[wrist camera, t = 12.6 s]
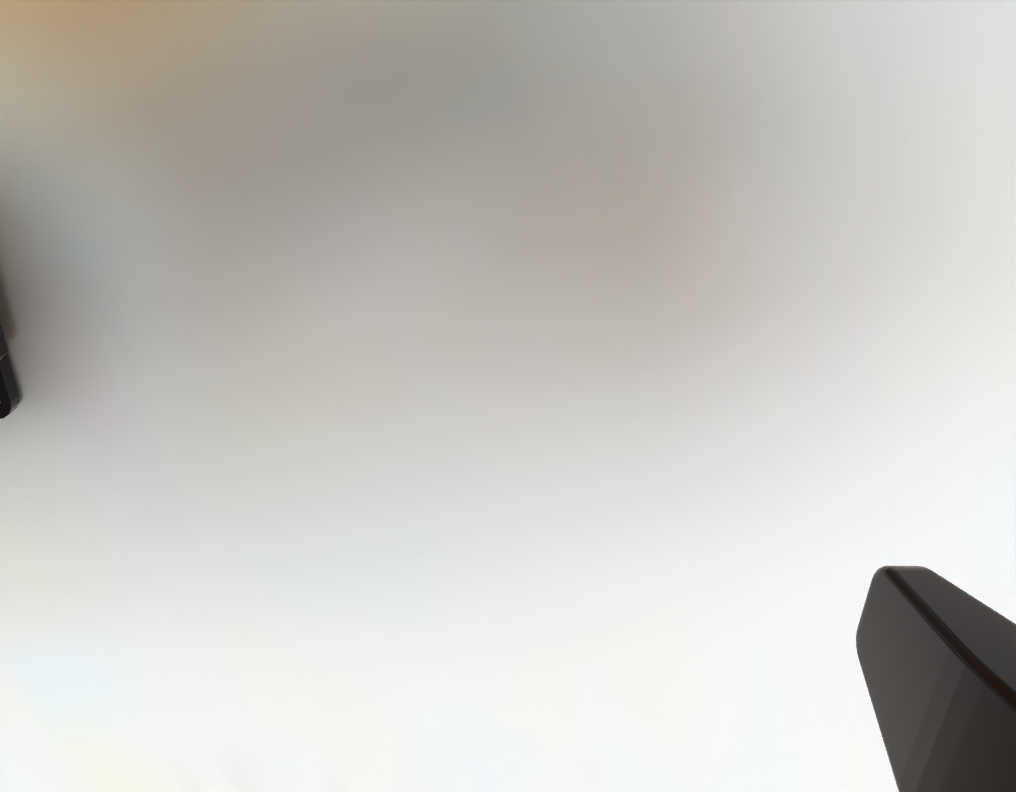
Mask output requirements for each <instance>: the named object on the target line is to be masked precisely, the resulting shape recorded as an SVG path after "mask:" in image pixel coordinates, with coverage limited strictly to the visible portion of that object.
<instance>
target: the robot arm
mask: <svg viewBox="0 0 1016 792" xmlns="http://www.w3.org/2000/svg"><path fill="white" fill-rule="evenodd" d="M6 352H7V347H6V343H5V340H4V337H3V333H2V330H1V327H0V401H1V403H0V419H1V418H4V417H6V416H7V415H9V414H10V413H11V412H12V411H13V410H14V409H15V408H17V406H18V404H19V394H18V391H17V387H16V384H15V381H14V378H13V374H12V371H11V368H10V365H9V361H8V358H7V355H6ZM856 647H857V654H858V658H859V661H860V665H861V668H862V671H863V674H864V678H865V681H866V684H867V688H868V691H869V694H870V698H871V701H872V704H873V708H874V711H875V714H876V718H877V721H878V724H879V727H880V731H881V734H882V737H883V741H884V744H885V747H886V751H887V754H888V757H889V761H890V764H891V767H892V771H893V774H894V777H895V780H896V784H897V787H898V790H899V792H1016V624H1015V623H1013V622H1011V621H1010V620H1008V619H1007V618H1005V617H1004V616H1002V615H1001V614H999V613H997V612H996V611H994V610H993V609H991V608H990V607H988V606H986V605H985V604H983V603H982V602H980V601H979V600H977V599H975V598H974V597H972V596H971V595H969V594H968V593H966V592H964V591H963V590H961V589H960V588H958V587H957V586H955V585H954V584H952V583H950V582H949V581H947V580H946V579H944V578H943V577H941V576H939V575H938V574H936V573H935V572H933V571H931V570H930V569H928V568H925V567H921V566H884V567H881V568H879V569H878V570H877V571H876V573H875V574H874V576H873V578H872V581H871V584H870V588H869V591H868V595H867V598H866V601H865V605H864V608H863V611H862V615H861V618H860V622H859V625H858V629H857V635H856Z"/></svg>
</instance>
